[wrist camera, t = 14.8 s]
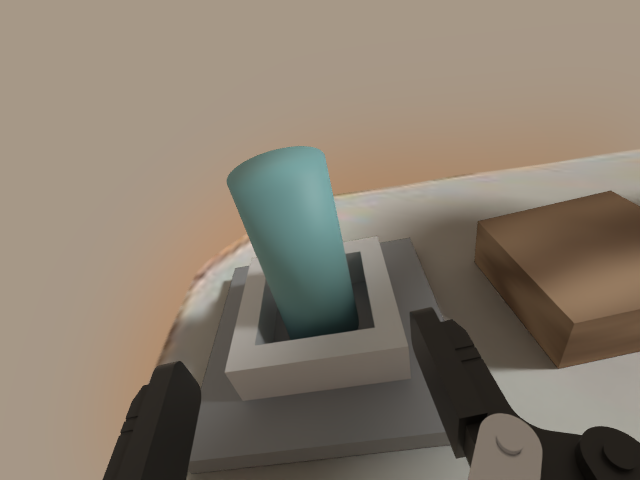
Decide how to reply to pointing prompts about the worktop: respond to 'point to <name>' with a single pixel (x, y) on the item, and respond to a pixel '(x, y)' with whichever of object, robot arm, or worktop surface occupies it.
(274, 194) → the peg
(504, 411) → the robot arm
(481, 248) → the stand
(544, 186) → the worktop surface
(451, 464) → the worktop surface
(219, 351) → the socket base
